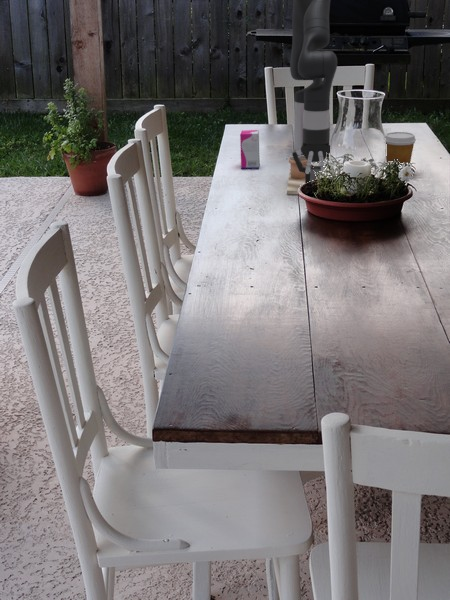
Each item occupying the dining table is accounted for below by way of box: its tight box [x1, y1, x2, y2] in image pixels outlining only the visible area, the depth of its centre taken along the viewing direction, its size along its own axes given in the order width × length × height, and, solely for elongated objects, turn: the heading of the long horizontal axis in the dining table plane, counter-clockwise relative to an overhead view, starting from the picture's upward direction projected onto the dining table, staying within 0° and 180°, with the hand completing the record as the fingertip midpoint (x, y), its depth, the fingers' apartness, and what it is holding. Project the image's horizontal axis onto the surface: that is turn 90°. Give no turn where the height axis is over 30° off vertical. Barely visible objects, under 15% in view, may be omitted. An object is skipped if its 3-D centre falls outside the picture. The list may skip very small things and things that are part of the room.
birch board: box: [286, 165, 321, 195], centre depth 236 cm, size 24×10×7 cm, turn 174°
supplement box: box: [239, 129, 261, 170], centre depth 254 cm, size 6×6×12 cm
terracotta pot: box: [288, 155, 307, 179], centre depth 239 cm, size 6×6×6 cm
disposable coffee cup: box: [384, 131, 417, 164], centre depth 242 cm, size 10×10×12 cm
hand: (315, 185), depth 228 cm, fingers closed on birch board, 3 cm apart
